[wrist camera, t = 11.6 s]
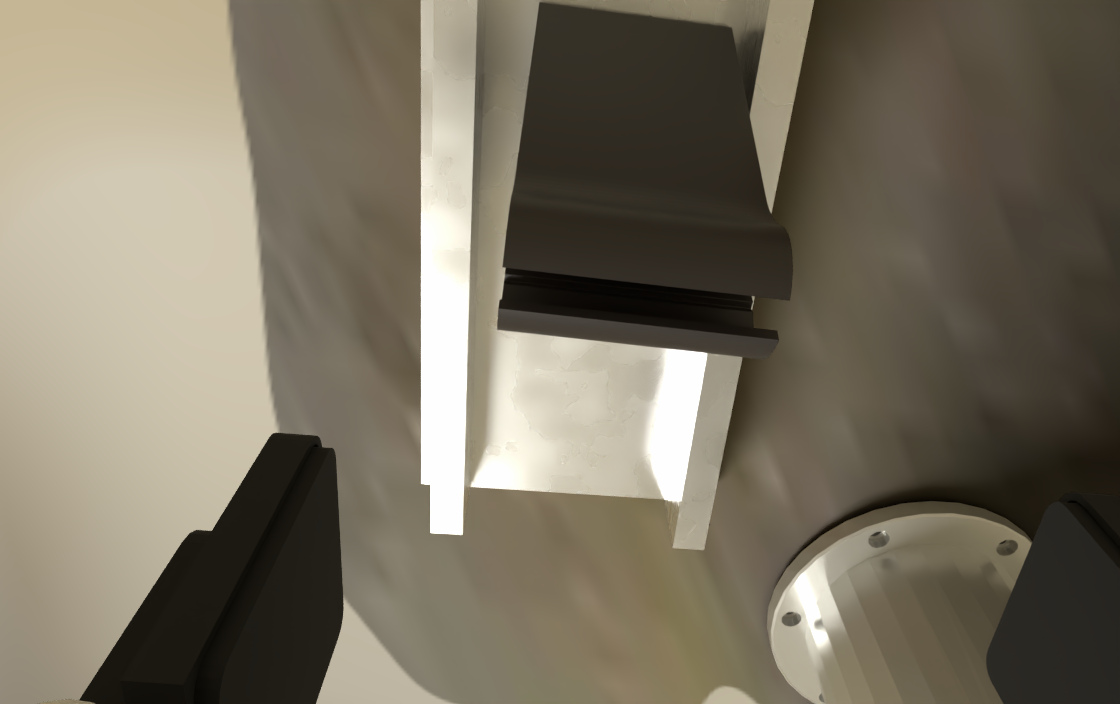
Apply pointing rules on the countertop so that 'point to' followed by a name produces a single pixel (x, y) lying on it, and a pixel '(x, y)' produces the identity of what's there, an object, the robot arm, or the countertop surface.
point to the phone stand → (639, 190)
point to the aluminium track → (549, 361)
